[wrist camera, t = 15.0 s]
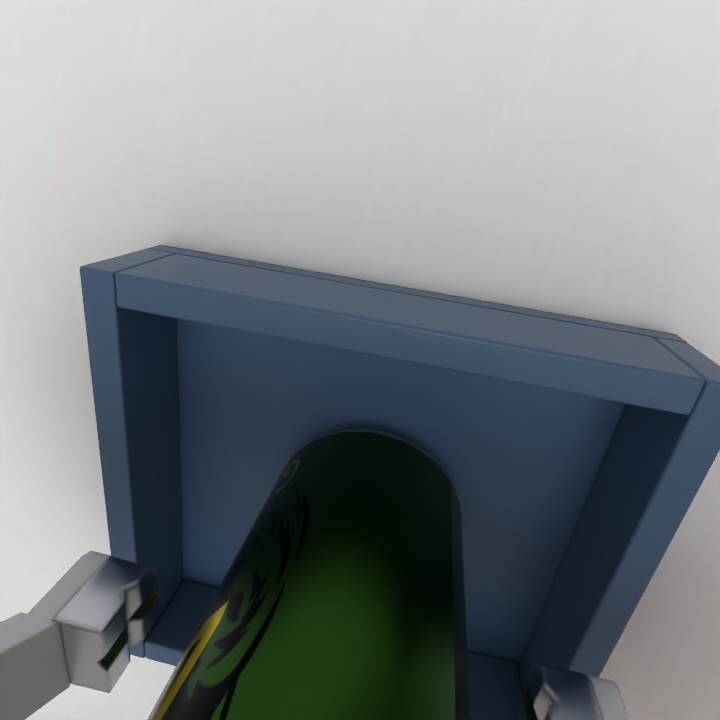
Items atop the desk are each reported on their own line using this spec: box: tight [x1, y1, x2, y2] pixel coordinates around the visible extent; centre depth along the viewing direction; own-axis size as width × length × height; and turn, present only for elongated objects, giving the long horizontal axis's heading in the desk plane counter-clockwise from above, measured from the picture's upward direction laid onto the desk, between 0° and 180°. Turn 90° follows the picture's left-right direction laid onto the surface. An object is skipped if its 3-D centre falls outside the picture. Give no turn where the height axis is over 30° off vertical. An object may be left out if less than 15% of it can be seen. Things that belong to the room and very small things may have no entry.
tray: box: [80, 245, 720, 720], centre depth 13 cm, size 14×13×3 cm
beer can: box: [148, 428, 470, 720], centre depth 9 cm, size 5×5×12 cm
